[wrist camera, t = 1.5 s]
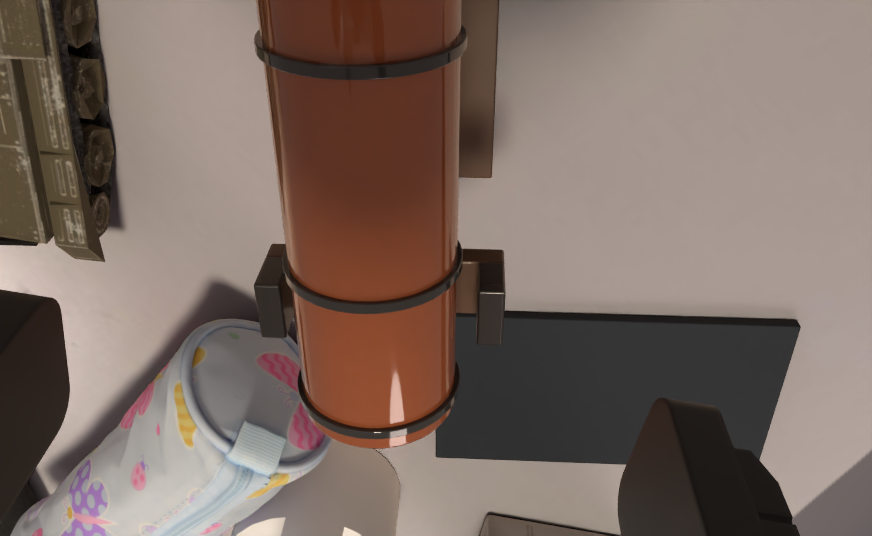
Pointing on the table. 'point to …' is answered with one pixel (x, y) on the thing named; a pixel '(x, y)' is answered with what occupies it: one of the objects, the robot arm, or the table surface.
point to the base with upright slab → (332, 499)
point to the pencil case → (193, 444)
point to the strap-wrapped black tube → (17, 510)
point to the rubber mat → (608, 382)
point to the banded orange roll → (369, 206)
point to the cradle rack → (477, 106)
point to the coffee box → (526, 528)
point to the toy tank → (53, 127)
